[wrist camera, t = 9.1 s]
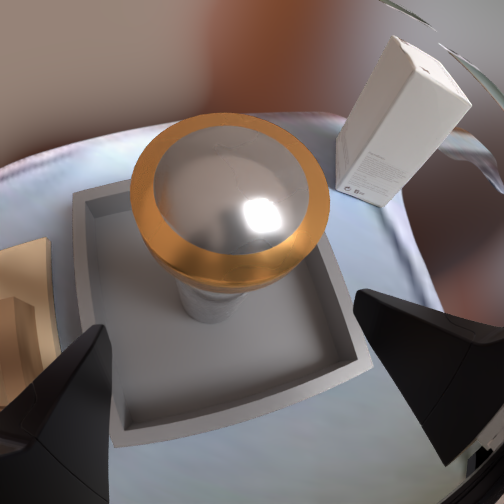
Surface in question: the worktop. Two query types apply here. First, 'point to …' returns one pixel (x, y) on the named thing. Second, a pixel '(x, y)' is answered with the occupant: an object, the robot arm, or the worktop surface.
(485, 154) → the worktop surface
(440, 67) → the skincare box
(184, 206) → the pin
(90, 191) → the tray
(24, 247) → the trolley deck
